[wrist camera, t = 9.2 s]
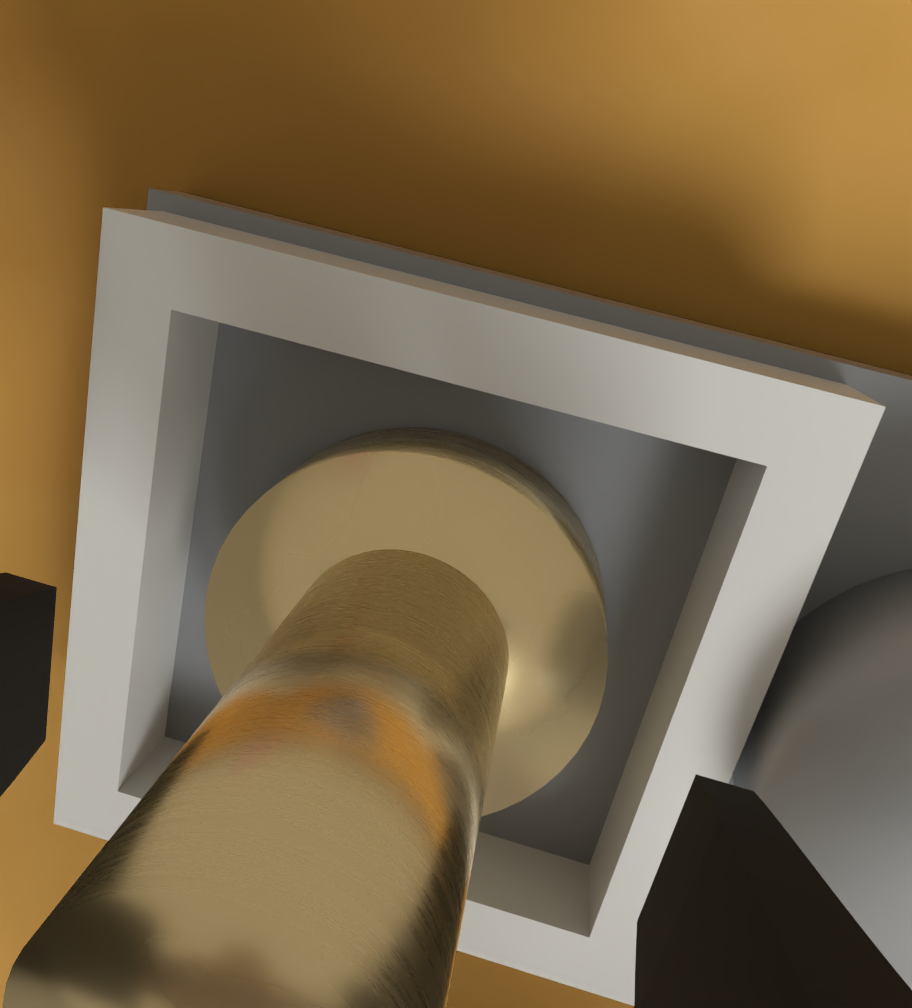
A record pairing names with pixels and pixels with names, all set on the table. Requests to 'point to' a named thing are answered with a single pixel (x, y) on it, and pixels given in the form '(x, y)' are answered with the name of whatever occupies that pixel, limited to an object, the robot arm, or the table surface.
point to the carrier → (593, 497)
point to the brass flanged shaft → (345, 739)
